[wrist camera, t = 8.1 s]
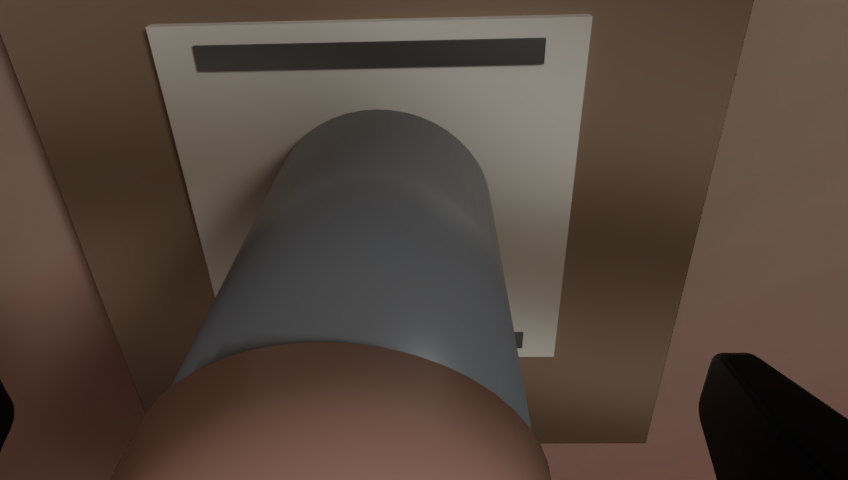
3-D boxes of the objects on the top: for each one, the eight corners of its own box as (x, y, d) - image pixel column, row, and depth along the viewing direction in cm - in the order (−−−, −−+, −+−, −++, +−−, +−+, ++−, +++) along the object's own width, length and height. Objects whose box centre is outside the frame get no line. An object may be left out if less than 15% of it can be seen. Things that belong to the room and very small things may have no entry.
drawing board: (636, 417, 15) (649, 451, 14) (169, 419, 16) (153, 453, 15) (781, -224, 9) (821, -235, 8) (-50, -196, 9) (-104, -203, 8)
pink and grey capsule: (492, 302, 12) (570, 842, 5) (286, 305, 12) (108, 841, 6) (500, 100, 10) (643, 579, 3) (250, 106, 10) (-114, 585, 3)
